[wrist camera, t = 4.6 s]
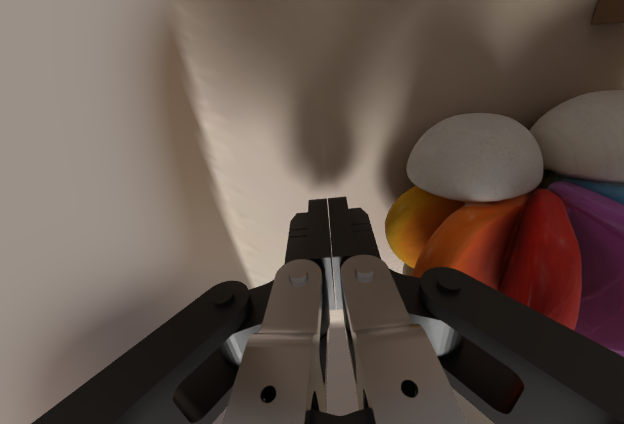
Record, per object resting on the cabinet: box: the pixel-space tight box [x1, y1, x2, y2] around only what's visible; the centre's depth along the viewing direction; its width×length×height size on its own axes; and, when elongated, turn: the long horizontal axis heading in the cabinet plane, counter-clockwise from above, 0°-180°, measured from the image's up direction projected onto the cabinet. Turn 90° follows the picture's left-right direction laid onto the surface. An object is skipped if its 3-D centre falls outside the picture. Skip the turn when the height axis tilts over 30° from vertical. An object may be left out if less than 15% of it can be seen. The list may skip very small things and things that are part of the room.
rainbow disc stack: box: [385, 90, 624, 357], centre depth 9 cm, size 8×10×7 cm
